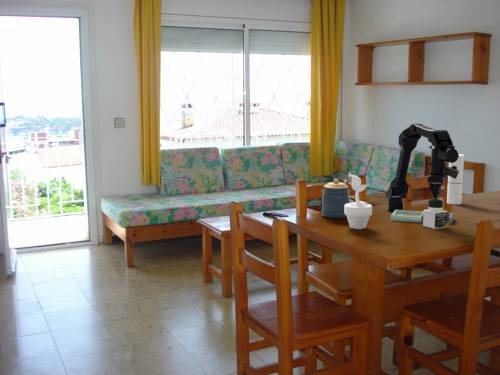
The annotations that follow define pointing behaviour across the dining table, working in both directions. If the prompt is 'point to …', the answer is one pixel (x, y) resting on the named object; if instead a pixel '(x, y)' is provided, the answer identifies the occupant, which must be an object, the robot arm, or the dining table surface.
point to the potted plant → (357, 206)
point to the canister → (335, 199)
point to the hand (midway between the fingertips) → (436, 196)
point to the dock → (450, 217)
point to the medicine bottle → (435, 215)
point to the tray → (407, 216)
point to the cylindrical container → (456, 183)
